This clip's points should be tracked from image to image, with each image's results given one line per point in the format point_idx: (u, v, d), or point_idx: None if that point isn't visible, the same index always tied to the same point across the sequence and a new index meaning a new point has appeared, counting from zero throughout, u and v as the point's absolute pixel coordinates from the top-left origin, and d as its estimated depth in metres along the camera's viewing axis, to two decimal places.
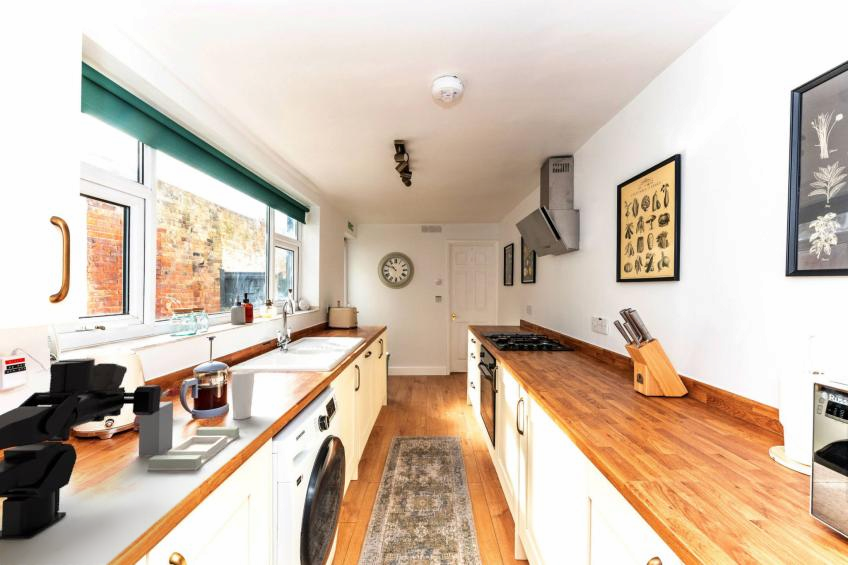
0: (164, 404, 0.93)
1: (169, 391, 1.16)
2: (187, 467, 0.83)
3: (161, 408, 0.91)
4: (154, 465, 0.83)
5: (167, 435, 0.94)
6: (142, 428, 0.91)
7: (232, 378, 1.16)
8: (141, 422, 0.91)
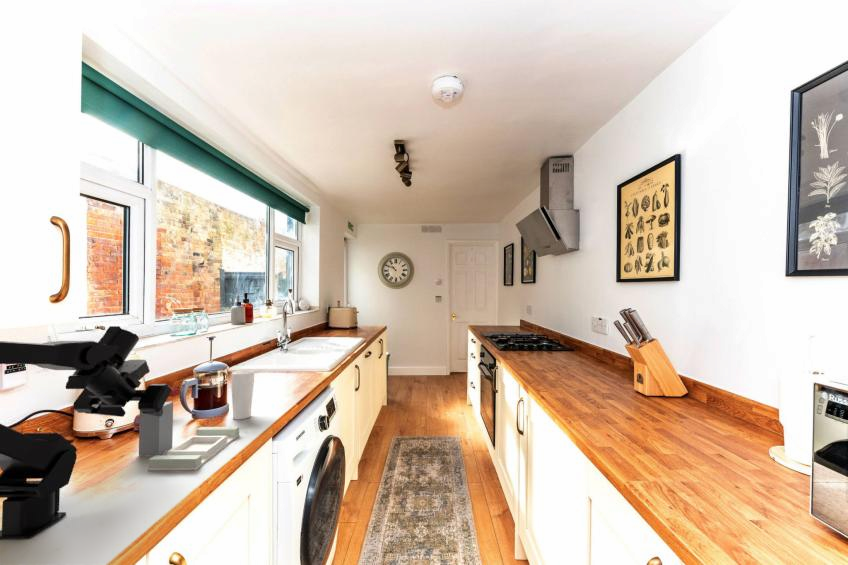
0: (164, 404, 0.93)
1: None
2: (187, 467, 0.83)
3: None
4: (154, 465, 0.83)
5: (167, 435, 0.94)
6: (142, 428, 0.91)
7: (232, 378, 1.16)
8: (141, 422, 0.91)
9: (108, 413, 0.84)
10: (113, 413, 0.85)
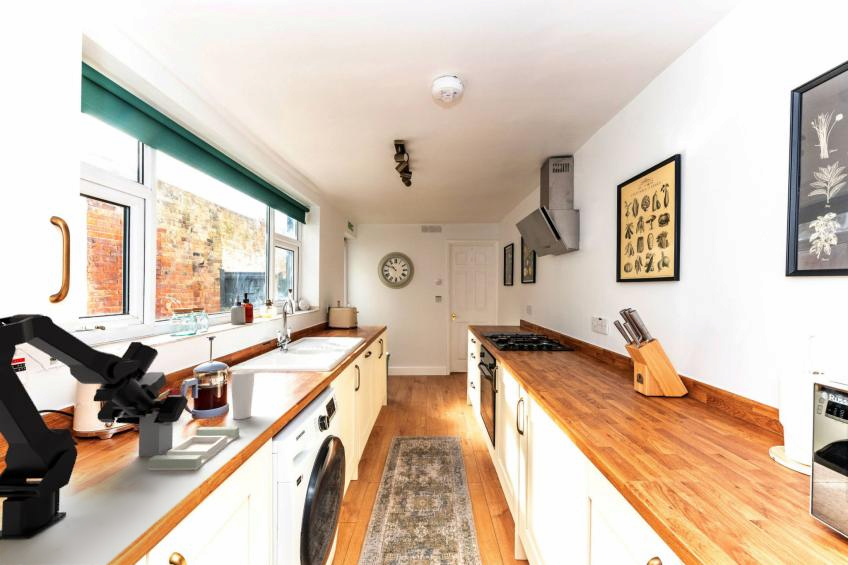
0: None
1: (169, 391, 1.16)
2: (187, 467, 0.83)
3: None
4: (154, 465, 0.83)
5: (167, 434, 0.94)
6: (142, 428, 0.91)
7: (232, 378, 1.16)
8: (141, 422, 0.91)
9: (136, 422, 0.90)
10: None
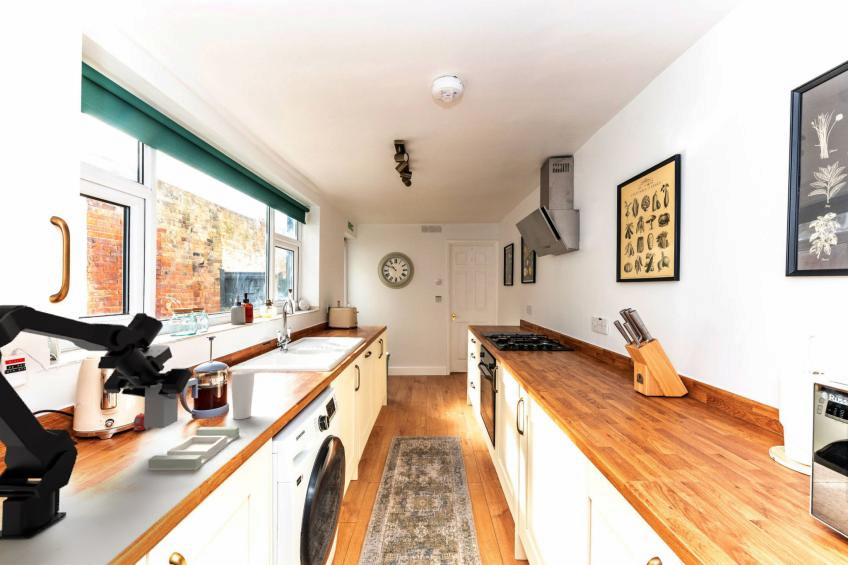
0: None
1: None
2: (187, 467, 0.83)
3: None
4: (154, 465, 0.83)
5: (172, 408, 0.94)
6: (147, 400, 0.91)
7: (232, 378, 1.16)
8: (147, 394, 0.91)
9: (142, 394, 0.91)
10: None
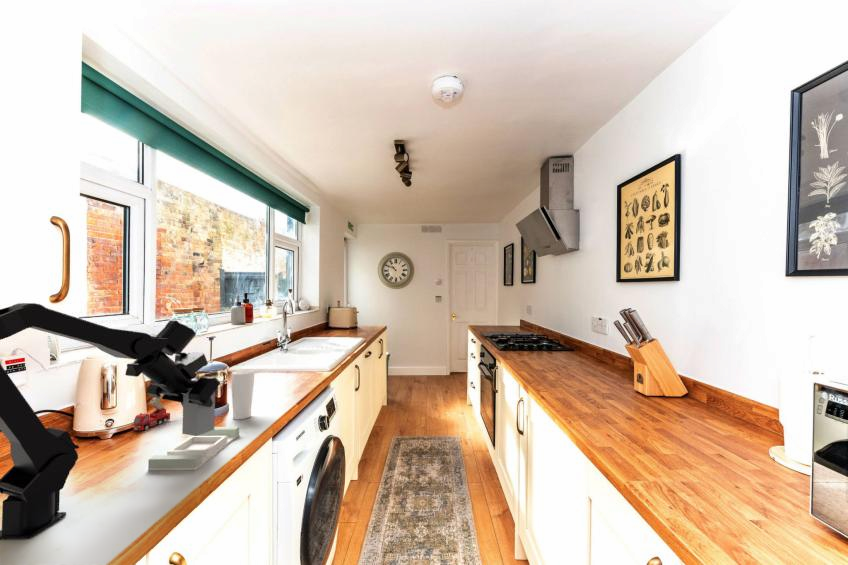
0: None
1: None
2: (187, 467, 0.83)
3: None
4: (154, 465, 0.83)
5: (208, 416, 0.93)
6: (185, 407, 0.91)
7: (232, 378, 1.16)
8: (184, 400, 0.92)
9: (180, 400, 0.92)
10: None
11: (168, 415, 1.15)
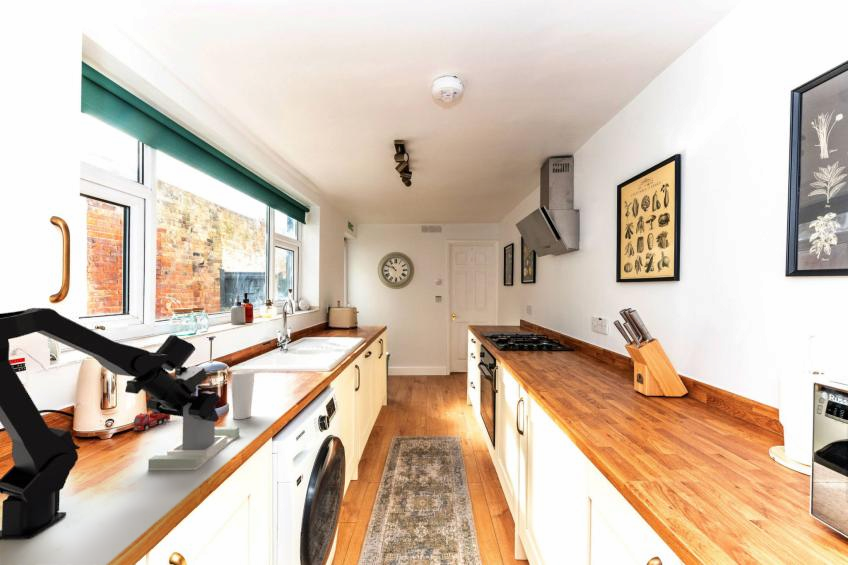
0: None
1: None
2: (187, 467, 0.83)
3: None
4: (154, 465, 0.83)
5: (208, 434, 0.93)
6: (185, 425, 0.91)
7: (232, 378, 1.16)
8: (184, 418, 0.91)
9: (175, 414, 0.92)
10: (180, 414, 0.93)
11: (168, 415, 1.15)
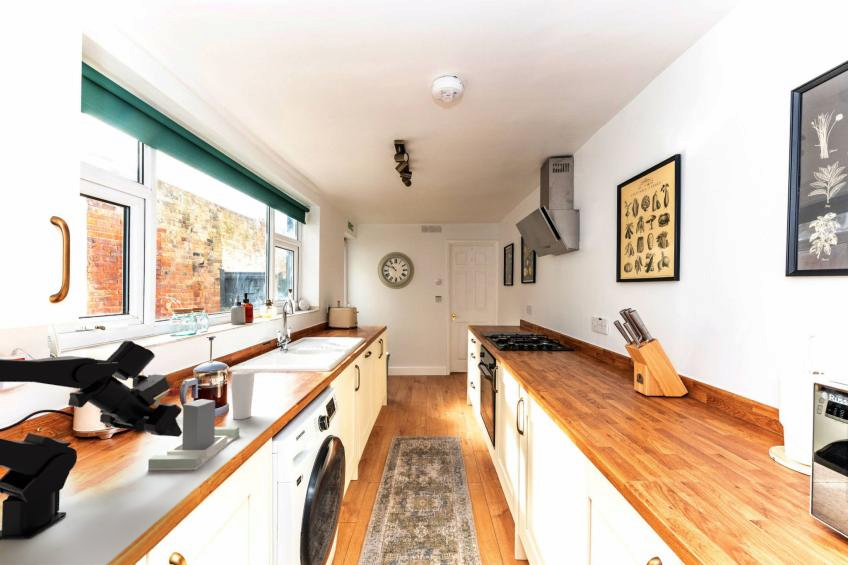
0: (205, 403, 0.93)
1: (169, 391, 1.16)
2: (187, 467, 0.83)
3: (200, 407, 0.91)
4: (154, 465, 0.83)
5: (208, 434, 0.93)
6: (185, 425, 0.91)
7: (232, 378, 1.16)
8: (184, 418, 0.91)
9: (133, 428, 0.83)
10: (139, 428, 0.84)
11: None
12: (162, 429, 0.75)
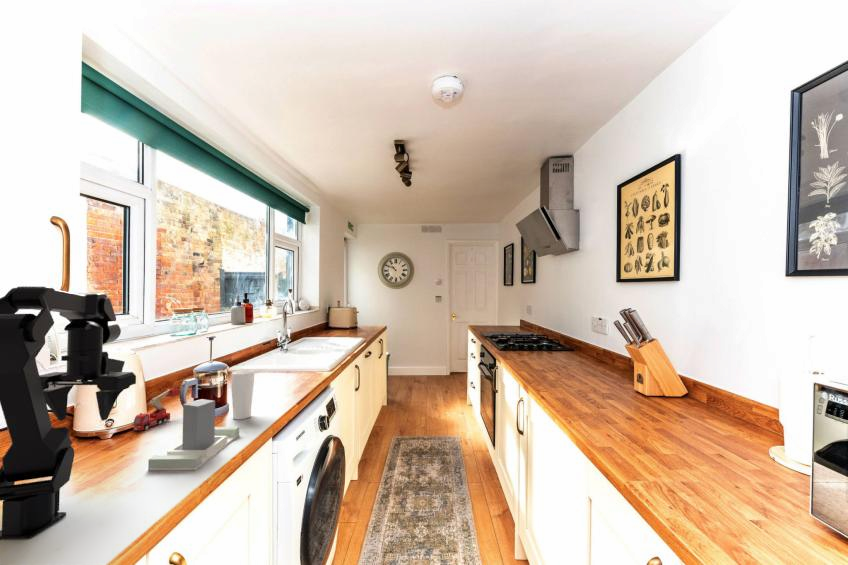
0: (205, 403, 0.93)
1: (169, 391, 1.16)
2: (187, 467, 0.83)
3: (200, 407, 0.91)
4: (154, 465, 0.83)
5: (208, 434, 0.93)
6: (185, 425, 0.91)
7: (232, 378, 1.16)
8: (184, 418, 0.91)
9: (53, 403, 0.77)
10: (57, 407, 0.78)
11: (168, 415, 1.15)
12: (118, 384, 0.77)
